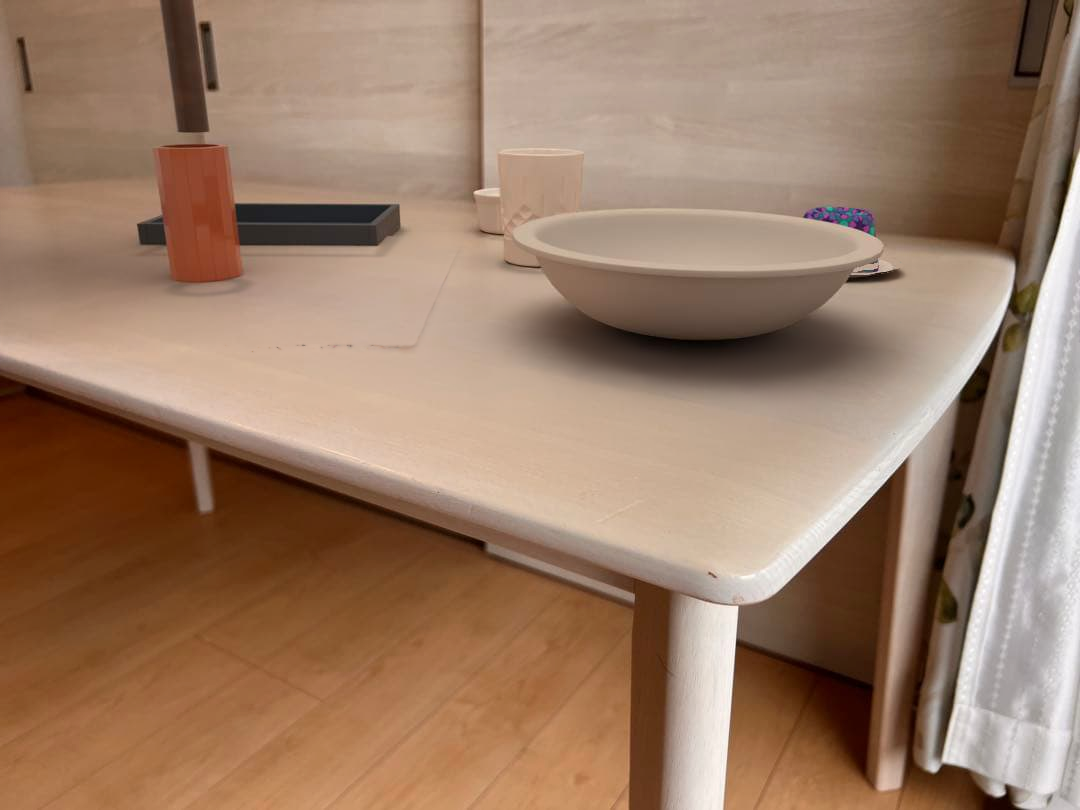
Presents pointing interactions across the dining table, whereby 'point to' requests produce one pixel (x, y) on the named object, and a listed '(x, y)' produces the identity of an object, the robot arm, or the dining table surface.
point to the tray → (300, 224)
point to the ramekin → (489, 210)
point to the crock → (198, 211)
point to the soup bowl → (695, 267)
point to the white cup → (536, 191)
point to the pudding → (853, 220)
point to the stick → (184, 65)
